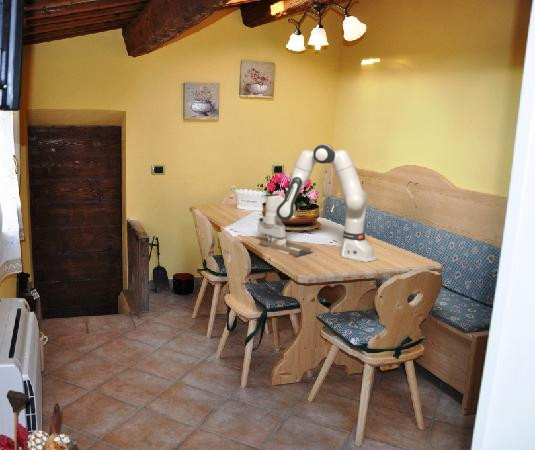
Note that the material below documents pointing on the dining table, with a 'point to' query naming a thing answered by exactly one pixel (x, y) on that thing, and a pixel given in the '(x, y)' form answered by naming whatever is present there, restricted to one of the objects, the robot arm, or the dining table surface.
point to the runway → (288, 248)
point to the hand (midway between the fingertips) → (270, 242)
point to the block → (279, 241)
